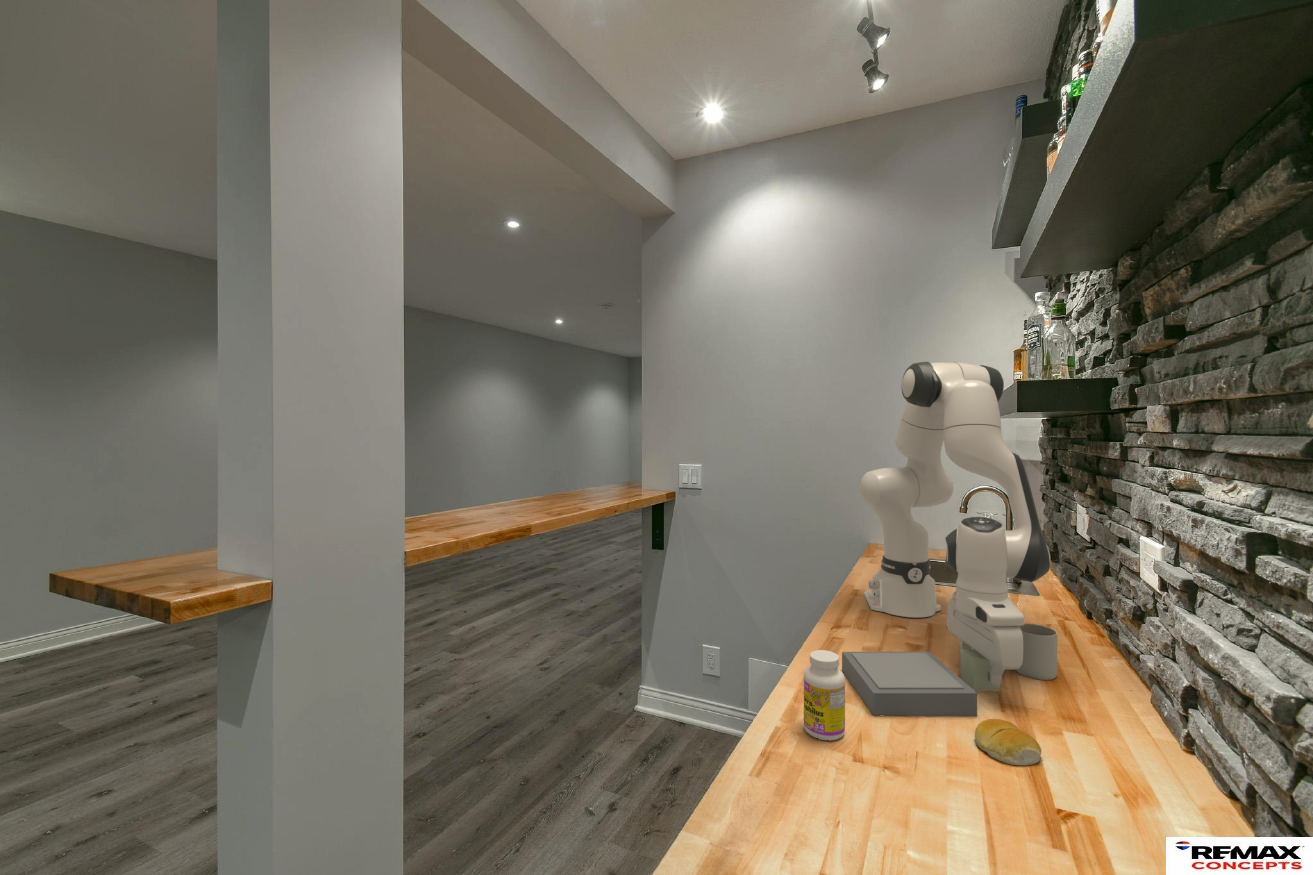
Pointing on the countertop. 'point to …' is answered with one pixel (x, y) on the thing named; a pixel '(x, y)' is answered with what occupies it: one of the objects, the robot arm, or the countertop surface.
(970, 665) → the sage block
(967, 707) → the tray
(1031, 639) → the cup
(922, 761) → the countertop surface
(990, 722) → the bread roll
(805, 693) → the supplement bottle
